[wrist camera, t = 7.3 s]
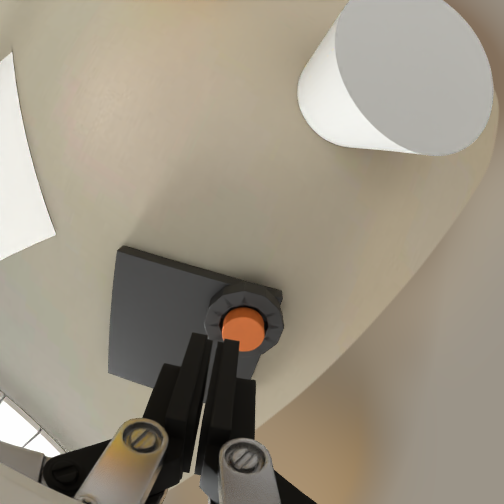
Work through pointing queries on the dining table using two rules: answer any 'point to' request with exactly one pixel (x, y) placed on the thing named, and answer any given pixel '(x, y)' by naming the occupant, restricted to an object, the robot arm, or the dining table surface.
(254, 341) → the power button
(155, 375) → the scale
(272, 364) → the dining table surface
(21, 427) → the lazy susan
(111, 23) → the dining table surface
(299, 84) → the cup
